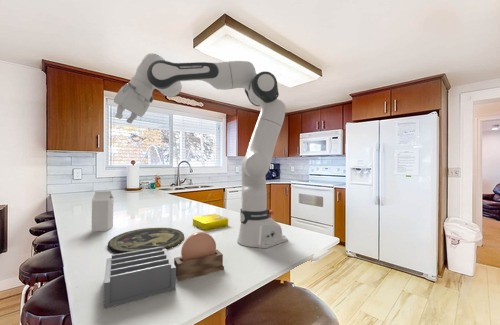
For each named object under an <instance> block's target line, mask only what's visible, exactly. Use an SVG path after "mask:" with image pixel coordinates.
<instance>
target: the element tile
mask: <svg viewBox="0 0 500 325" xmlns="http://www.w3.org/2000/svg"><path fill="white" fill-rule="evenodd" d="M193 225H194V227H195V226H196V227H195V228H198V229H199V230H202V231H203V232H204V231H212V230H217V229H221V228H226V226H227V227H228V226H229V218H228V217H225V216H222V215H220V214H216V213H213V214H206V215H199V216H193V218H192V226H193Z"/></svg>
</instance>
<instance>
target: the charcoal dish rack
mask: <svg viewBox="0 0 500 325" xmlns="http://www.w3.org/2000/svg"><path fill="white" fill-rule="evenodd" d="M104 272H105V273H104V280H103V309H104V308H105V309H108V307H109V308H111V307H115V306H120V305H125V304H127V303H130V302H134V301H137V300H142V299H146V298H149V297H153V296H156V295H160V294H164V293H169V292H172V291H176V290H177V286H176V285H177V277H176V266H175V265H174V260H173V259H172V257H171V256H170V253H169V251H168V250H166V249H163V247H156V248H150V249H145V250H139V251H133V252H127V253H121V254H116V253H114V254H112V255H111V257H110V258H109V257H108V258H106V262H105V271H104Z"/></svg>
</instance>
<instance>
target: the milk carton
mask: <svg viewBox="0 0 500 325" xmlns="http://www.w3.org/2000/svg"><path fill="white" fill-rule="evenodd" d="M113 227H114V197H113V194H112V191H111V190H107V191H106V190H102V191H101V190H97V191H94V195H93V197H92V200H91V232H104V231H105V232H107V231H109V230H110V229H112V228H113Z"/></svg>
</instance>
